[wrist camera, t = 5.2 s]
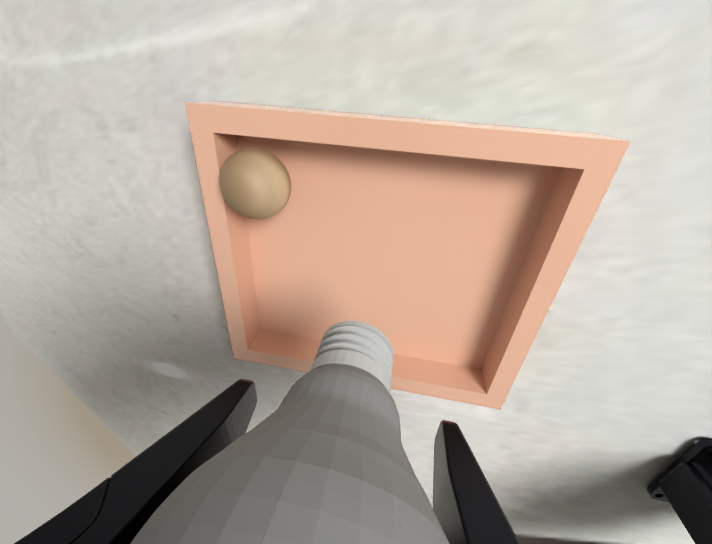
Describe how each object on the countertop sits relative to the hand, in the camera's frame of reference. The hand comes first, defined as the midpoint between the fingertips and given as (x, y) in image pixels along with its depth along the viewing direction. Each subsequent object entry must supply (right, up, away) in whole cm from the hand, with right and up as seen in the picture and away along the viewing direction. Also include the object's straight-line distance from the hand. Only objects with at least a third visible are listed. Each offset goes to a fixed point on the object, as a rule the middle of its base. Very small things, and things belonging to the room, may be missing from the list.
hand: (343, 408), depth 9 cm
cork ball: (-4, +9, +6) cm, 11 cm away
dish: (+1, +5, +8) cm, 9 cm away
